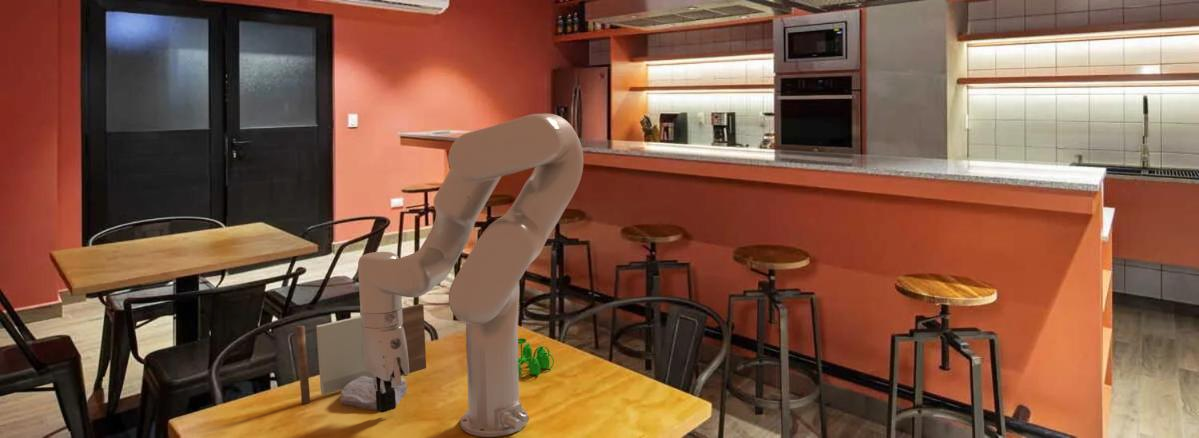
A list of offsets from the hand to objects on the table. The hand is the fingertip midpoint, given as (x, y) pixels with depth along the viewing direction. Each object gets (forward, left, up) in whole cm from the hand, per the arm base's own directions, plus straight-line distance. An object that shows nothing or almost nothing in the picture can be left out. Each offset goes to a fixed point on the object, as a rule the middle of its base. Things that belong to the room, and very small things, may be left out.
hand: (386, 409), depth 133 cm
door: (+18, -3, -1) cm, 18 cm away
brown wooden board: (+18, -5, -2) cm, 19 cm away
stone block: (+9, -2, -2) cm, 10 cm away
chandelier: (+2, -35, -2) cm, 35 cm away
